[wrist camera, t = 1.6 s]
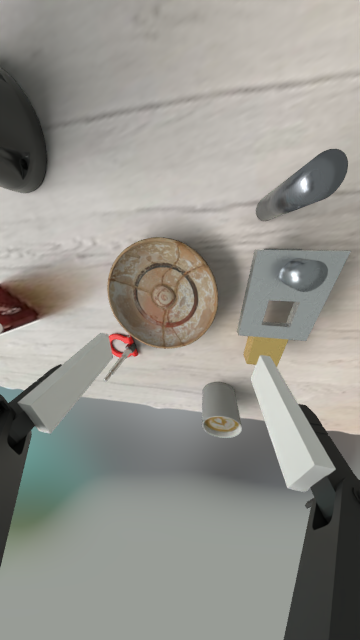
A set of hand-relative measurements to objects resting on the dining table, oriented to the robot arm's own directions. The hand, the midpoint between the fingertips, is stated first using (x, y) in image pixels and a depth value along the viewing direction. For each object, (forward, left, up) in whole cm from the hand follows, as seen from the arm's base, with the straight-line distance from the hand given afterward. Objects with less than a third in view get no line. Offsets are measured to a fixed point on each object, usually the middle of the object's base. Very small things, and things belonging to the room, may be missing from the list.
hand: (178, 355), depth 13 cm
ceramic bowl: (+2, -7, -22) cm, 23 cm away
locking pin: (-14, +11, -22) cm, 28 cm away
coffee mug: (+35, +9, -22) cm, 42 cm away
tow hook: (+18, -21, -22) cm, 35 cm away
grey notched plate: (+3, +15, -22) cm, 27 cm away
